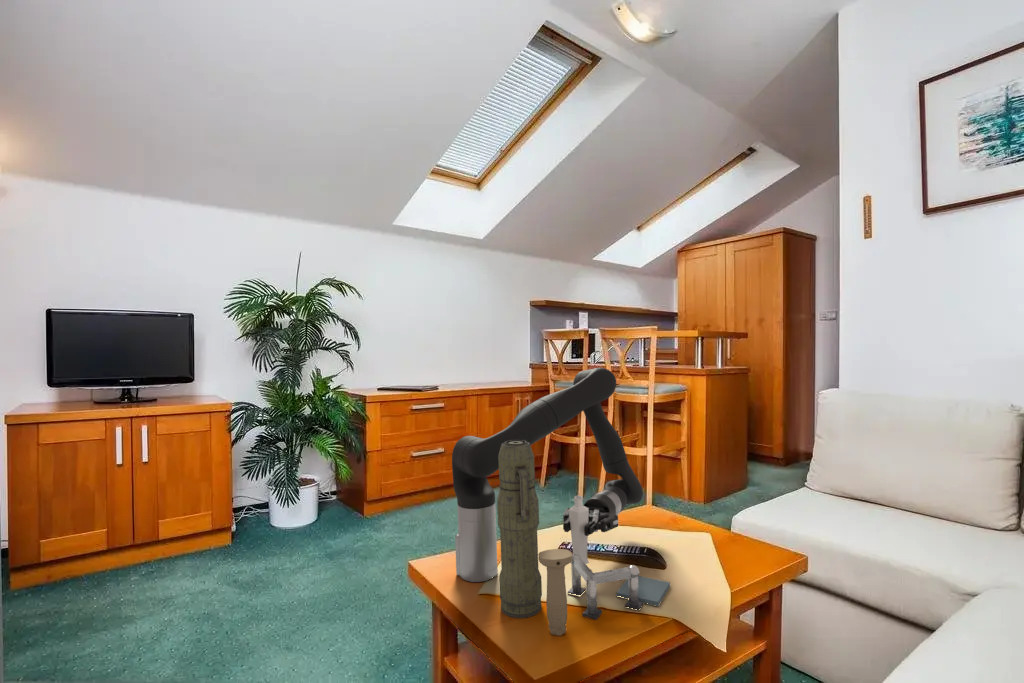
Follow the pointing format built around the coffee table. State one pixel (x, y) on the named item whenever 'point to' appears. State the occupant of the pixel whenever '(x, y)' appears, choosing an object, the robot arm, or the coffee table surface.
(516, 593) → the thermos
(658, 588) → the slate mat
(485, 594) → the coffee table surface
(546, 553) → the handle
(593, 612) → the bent rail
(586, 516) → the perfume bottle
